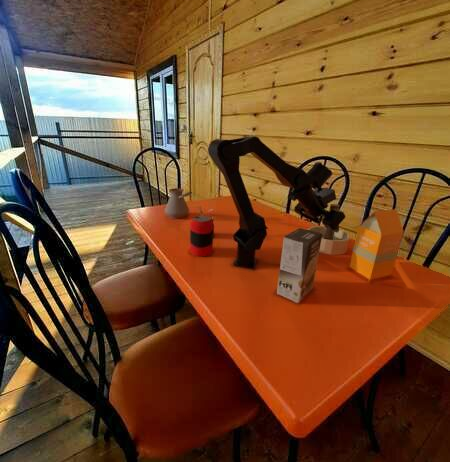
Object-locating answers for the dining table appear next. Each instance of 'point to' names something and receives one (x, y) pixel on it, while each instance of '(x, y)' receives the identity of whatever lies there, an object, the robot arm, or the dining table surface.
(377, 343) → the dining table surface
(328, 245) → the bowl
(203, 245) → the soda can
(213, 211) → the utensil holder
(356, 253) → the orange juice
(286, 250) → the coffee box
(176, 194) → the coffee pot
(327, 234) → the brown rectangular block
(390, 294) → the dining table surface
